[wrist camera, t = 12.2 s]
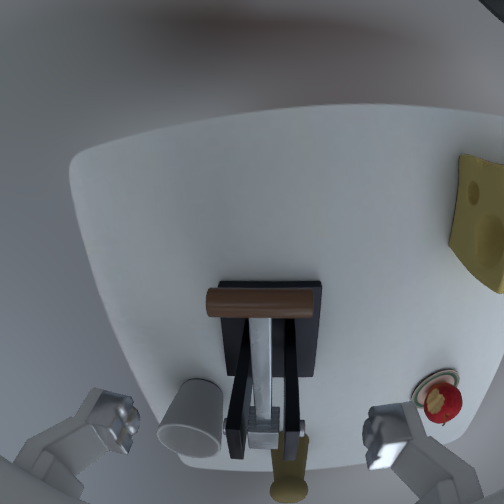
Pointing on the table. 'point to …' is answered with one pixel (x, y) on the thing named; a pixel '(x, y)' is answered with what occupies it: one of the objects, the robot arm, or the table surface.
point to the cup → (194, 420)
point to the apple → (439, 396)
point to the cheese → (480, 221)
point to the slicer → (283, 365)
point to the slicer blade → (261, 345)
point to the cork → (289, 473)
